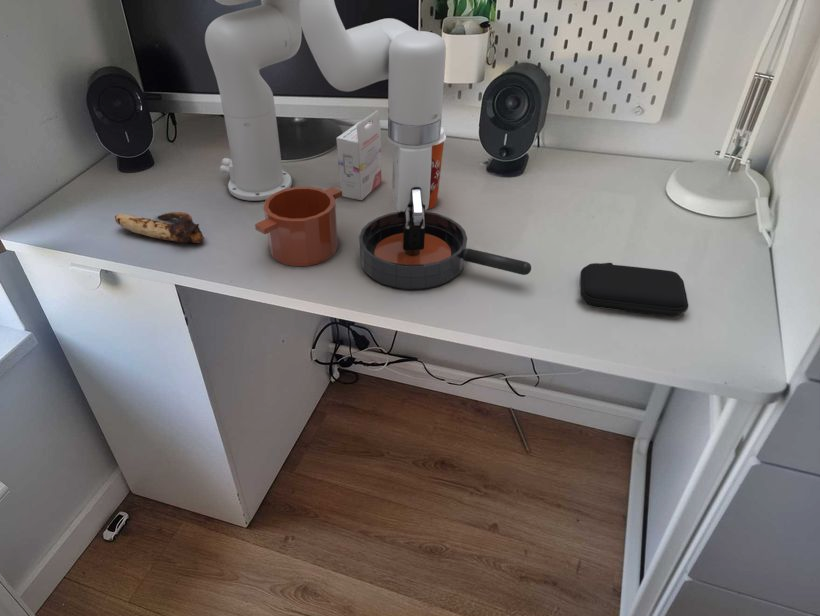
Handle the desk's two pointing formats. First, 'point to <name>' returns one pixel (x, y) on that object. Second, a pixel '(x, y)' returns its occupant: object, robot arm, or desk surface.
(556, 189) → the desk surface
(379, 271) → the pan
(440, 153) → the paper cup
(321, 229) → the pot
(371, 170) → the ink cartridge box
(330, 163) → the desk surface
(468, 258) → the pan handle
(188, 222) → the overripe banana
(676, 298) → the carrying case
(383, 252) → the lid
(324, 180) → the desk surface
